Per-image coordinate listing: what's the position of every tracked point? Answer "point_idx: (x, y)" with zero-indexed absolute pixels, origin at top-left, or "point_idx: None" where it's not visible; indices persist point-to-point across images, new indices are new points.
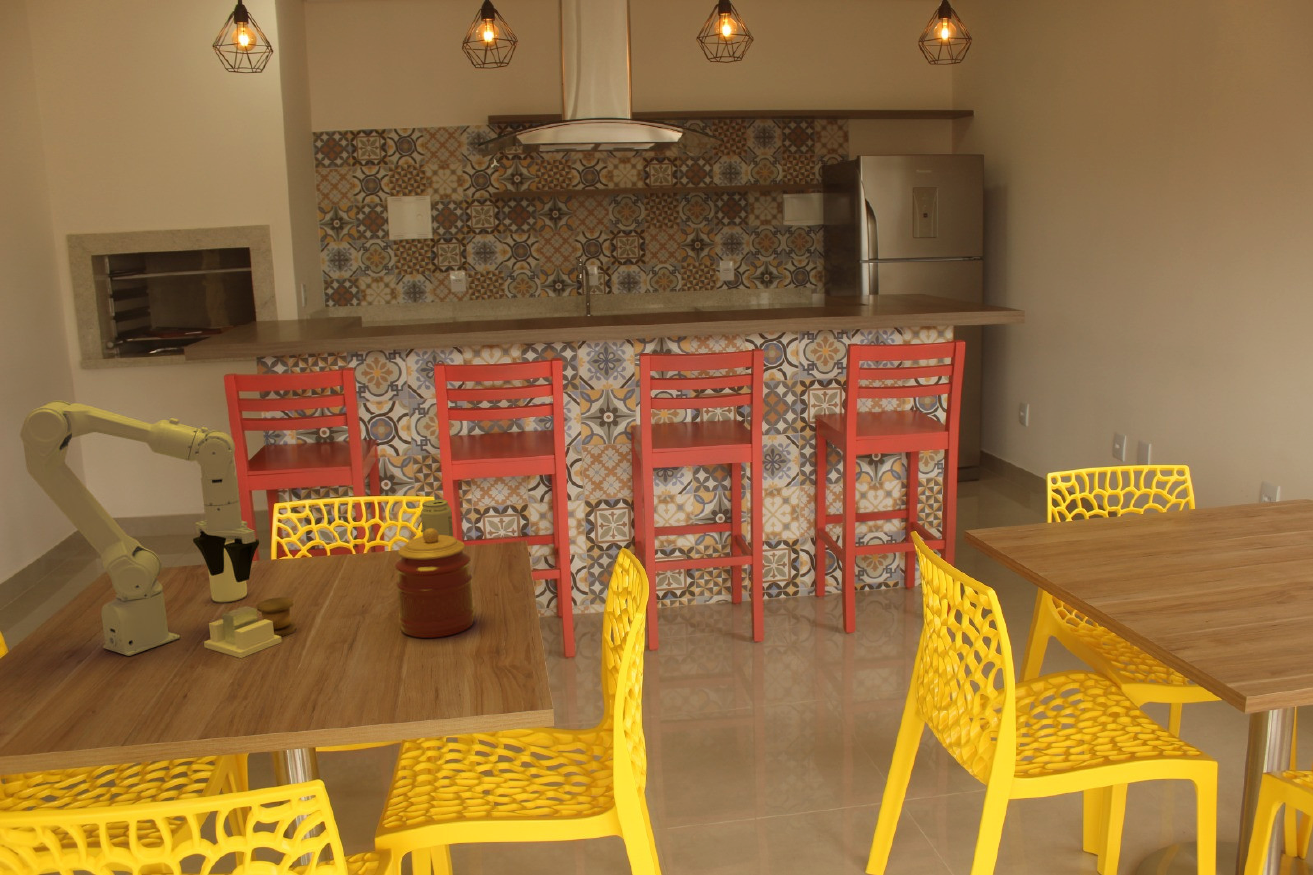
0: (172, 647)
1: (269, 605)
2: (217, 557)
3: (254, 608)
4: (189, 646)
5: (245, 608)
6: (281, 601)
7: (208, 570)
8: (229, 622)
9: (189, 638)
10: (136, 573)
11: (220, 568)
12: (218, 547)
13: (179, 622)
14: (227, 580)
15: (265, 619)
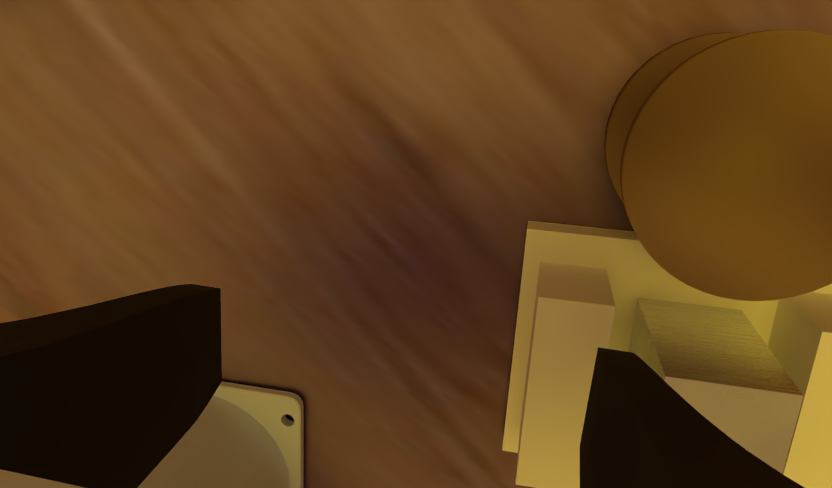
0: (364, 470)
1: (762, 229)
2: (115, 398)
3: (786, 397)
4: (424, 442)
5: (712, 415)
6: (793, 122)
7: None
8: None
9: (334, 373)
10: None
11: (197, 332)
12: (25, 443)
13: (100, 243)
14: None
15: (828, 333)
